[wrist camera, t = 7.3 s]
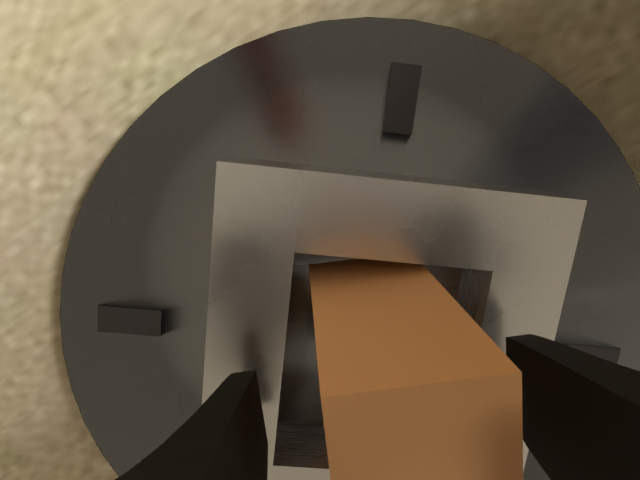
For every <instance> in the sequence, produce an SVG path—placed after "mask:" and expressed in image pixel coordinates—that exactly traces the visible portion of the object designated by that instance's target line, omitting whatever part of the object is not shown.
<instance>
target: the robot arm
mask: <svg viewBox="0 0 640 480" xmlns="http://www.w3.org/2000/svg"><path fill="white" fill-rule="evenodd" d="M506 356H507V357H508V358H509V359H510V360H511V361H512V362H513V363H514V364H515V365H516V366H517V367H518V369H519V370H520V371H521V372H522V422H523V441H524V442H525V444H526V446H527V447H528V449H529V450H530V452H531V453H532V455H533V456H534V457H535V459H536V460H537V462H538V463H539V464H540V466H541V467H542V469H543V470H544V471H545V473H546V474H547V475H548V477H549V478H550V480H640V371H637V370H634V369H631V368H628V367H625V366H622V365H619V364H616V363H613V362H611V361H608V360H605V359H602V358H600V357H597V356H594V355H591V354H589V353H586V352H583V351H580V350H578V349H575V348H572V347H570V346H567V345H564V344H561V343H559V342H556V341H553V340H550V339H547V338H544V337H541V336H537V335H533V334H526V335H518V336H510V337H506ZM267 474H268V440H267V434H266V428H265V422H264V416H263V410H262V403H261V397H260V391H259V385H258V379H257V373H256V370H253V371H245V372H237V373H231V374H230V375H229V376H228V377H227V378H226V379H225V380H224V381H223V382H222V383H221V385H220V386H219V387H218V388H217V389H216V390H215V391H214V392H213V393H212V395H211V396H210V397H209V398H208V399H207V400H206V401H205V402H204V403H203V404H202V405H201V406H200V407H199V409H198V410H197V411H196V412H195V413H194V414H193V415H192V416H191V417H190V418H189V419H188V420H187V421H186V422H185V423H184V424H183V425H181V426H180V427H179V428H178V429H177V430H176V431H175V432H174V433H173V434H172V435H171V436H170V437H169V438H168V439H167V440H166V441H165V442H163V443H162V444H161V445H160V446H159V447H158V448H156V449H155V450H154V451H153V452H152V453H150V454H149V455H148V456H147V457H145V458H144V459H143V460H142V461H140V462H139V463H138V464H136V465H135V466H134V467H133V468H131V469H130V470H128V471H127V472H126V473H124V474H123V475H121V476H120V477H118V478H117V479H115V480H267Z"/></svg>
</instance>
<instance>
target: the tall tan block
mask: <svg viewBox="0 0 640 480" xmlns="http://www.w3.org/2000/svg"><path fill="white" fill-rule="evenodd" d="M309 274H310V285H311V296H312V307H313V319H314V330H315V341H316V352H317V363H318V374H319V385H320V397H321V405H322V413H323V422H324V430H325V438H326V446H327V455H328V463H329V471H330V479H331V480H523V422H522V372H521V371H520V370H519V369H518V367H517V366H516V365H515V364H514V363H513V362H512V361H511V360H510V359H509V358H508V357H507V356H506V354H505V353H504V352H503V351H502V350H501V349H500V348H499V347H498V346H497V345H496V344H495V343H494V341H493V340H492V339H491V338H490V337H489V336H488V335H487V334H486V333H485V332H484V331H483V330H482V328H481V327H480V326H479V325H478V324H477V323H476V322H475V321H474V320H473V319H472V318H471V316H470V315H469V314H468V313H467V312H466V311H465V310H464V309H463V308H462V307H461V306H460V305H459V303H458V302H457V301H456V300H455V299H454V298H453V297H452V296H451V295H450V294H449V293H448V292H447V290H446V289H445V288H444V287H443V286H442V285H441V284H440V283H439V282H438V281H437V280H436V279H435V277H434V276H433V275H432V274H431V273H430V272H429V271H428V270H427V269H426V268H425V267H424V265H423V264H412V263H401V262H391V261H380V260H369V259H351V260H342V261H334V262H325V263H317V264H309Z"/></svg>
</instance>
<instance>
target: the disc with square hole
mask: <svg viewBox="0 0 640 480" xmlns="http://www.w3.org/2000/svg"><path fill="white" fill-rule="evenodd" d="M351 259H369V260H380V261H391V262H401V263H412V264H423V265H424V267H425V268H426V269H427V270H428V271H429V272H430V273H431V274H432V275H433V276H434V277H435V279H436V280H437V281H438V282H439V283H440V284H441V285H442V286H443V287H444V288H445V289H446V290H447V292H448V293H449V294H450V295H451V296H452V297H453V298H454V299H455V300H456V301H457V302H458V303H459V305H460V306H461V307H462V308H463V309H464V310H465V311H466V312H467V313H468V314H469V315H470V316H471V318H472V319H473V320H474V321H475V322H476V323H477V324H478V325H479V326H480V327H481V328H482V330H483V331H484V332H485V333H486V334H487V335H488V336H489V337H490V338H491V339H492V340H493V341H494V343H495V344H496V345H497V346H498V347H499V348H500V349H501V350H502V351H503V352H504V353H505V354H506V337H510V336H518V335H526V334H533V335H537V336H541V337H544V338H547V339H550V340H553V341H556V342H559V343H561V344H564V345H567V346H570V347H572V348H575V349H578V350H580V351H583V352H586V353H589V354H591V355H594V356H597V357H600V358H602V359H605V360H608V361H611V362H613V363H616V364H619V365H622V366H625V367H628V368H631V369H634V370H637V371H640V188H639V185H638V183H637V181H636V179H635V177H634V175H633V173H632V171H631V169H630V168H629V166H628V164H627V162H626V160H625V158H624V156H623V154H622V152H621V151H620V149H619V147H618V146H617V145H616V143H615V142H614V141H613V139H612V138H611V136H610V135H609V134H608V132H607V131H606V130H605V128H604V127H603V126H602V124H601V123H600V121H599V120H598V119H597V117H596V116H595V115H594V114H593V113H592V112H591V111H590V110H589V109H588V108H587V107H586V106H585V105H584V104H583V103H582V102H581V101H580V100H579V99H578V98H577V97H576V96H575V95H574V94H573V93H572V92H571V91H570V90H569V89H568V88H567V87H565V86H564V85H563V84H561V83H560V82H559V81H557V80H556V79H555V78H553V77H552V76H551V75H549V74H548V73H546V72H545V71H544V70H542V69H541V68H540V67H538V66H537V65H536V64H534V63H533V62H531V61H529V60H527V59H525V58H523V57H521V56H519V55H518V54H516V53H514V52H512V51H510V50H508V49H506V48H505V47H503V46H501V45H499V44H497V43H494V42H492V41H489V40H486V39H483V38H481V37H478V36H475V35H472V34H470V33H467V32H464V31H461V30H458V29H455V28H450V27H445V26H441V25H436V24H431V23H426V22H421V21H416V20H407V19H390V18H373V17H364V18H352V19H340V20H328V21H320V22H316V23H312V24H307V25H303V26H298V27H294V28H290V29H285V30H281V31H277V32H275V33H272V34H269V35H267V36H264V37H262V38H259V39H256V40H254V41H251V42H248V43H246V44H243V45H241V46H238V47H235V48H234V49H232V50H230V51H228V52H226V53H225V54H223V55H221V56H219V57H217V58H216V59H214V60H212V61H210V62H208V63H207V64H205V65H203V66H201V67H199V68H198V69H196V70H195V71H193V72H192V73H191V74H189V75H188V76H187V77H185V78H184V79H183V80H181V81H180V82H179V83H177V84H176V85H175V86H173V87H172V88H171V89H169V90H168V91H167V92H165V93H164V94H163V95H161V96H160V97H159V98H158V99H157V100H156V101H155V102H154V103H153V104H152V105H151V106H150V107H149V108H148V109H147V110H146V111H145V112H144V113H143V114H142V115H141V116H140V117H139V118H138V119H137V120H136V121H135V122H134V123H133V124H132V125H131V126H130V127H129V129H128V130H127V132H126V133H125V134H124V136H123V137H122V138H121V140H120V141H119V142H118V144H117V145H116V146H115V148H114V149H113V150H112V152H111V153H110V154H109V156H108V157H107V158H106V160H105V161H104V163H103V165H102V166H101V168H100V170H99V172H98V174H97V176H96V178H95V179H94V181H93V183H92V185H91V187H90V189H89V190H88V192H87V194H86V196H85V198H84V200H83V203H82V206H81V209H80V211H79V214H78V217H77V219H76V222H75V225H74V228H73V230H72V233H71V236H70V240H69V245H68V250H67V254H66V259H65V264H64V269H63V274H62V285H61V302H60V323H61V335H62V347H63V354H64V359H65V363H66V367H67V372H68V376H69V380H70V385H71V389H72V391H73V394H74V396H75V399H76V402H77V404H78V407H79V409H80V412H81V415H82V417H83V420H84V422H85V424H86V426H87V428H88V429H89V431H90V433H91V435H92V437H93V438H94V440H95V442H96V444H97V446H98V447H99V449H100V451H101V453H102V454H103V456H104V457H105V458H106V460H107V461H108V462H109V464H110V465H111V466H112V468H113V469H114V470H115V472H116V473H117V474H118V476H119V477H120V476H121V475H123V474H124V473H126V472H127V471H128V470H130V469H131V468H133V467H134V466H135V465H136V464H138V463H139V462H140V461H142V460H143V459H144V458H145V457H147V456H148V455H149V454H150V453H152V452H153V451H154V450H155V449H156V448H158V447H159V446H160V445H161V444H162V443H163V442H165V441H166V440H167V439H168V438H169V437H170V436H171V435H172V434H173V433H174V432H175V431H176V430H177V429H178V428H179V427H180V426H181V425H183V424H184V423H185V422H186V421H187V420H188V419H189V418H190V417H191V416H192V415H193V414H194V413H195V412H196V411H197V410H198V409H199V407H200V406H201V405H202V404H203V403H204V402H205V401H206V400H207V399H208V398H209V397H210V396H211V395H212V393H213V392H214V391H215V390H216V389H217V388H218V387H219V386H220V385H221V383H222V382H223V381H224V380H225V379H226V378H227V377H228V376H229V375H230V374H231V373H237V372H245V371H253V370H256V373H257V379H258V385H259V391H260V397H261V403H262V410H263V416H264V422H265V428H266V434H267V440H268V474H267V480H331V479H330V471H329V463H328V455H327V446H326V438H325V430H324V422H323V413H322V405H321V397H320V385H319V374H318V363H317V352H316V341H315V330H314V319H313V307H312V296H311V285H310V274H309V264H317V263H325V262H334V261H342V260H351ZM523 480H550V478H549V477H548V475H547V474H546V473H545V471H544V470H543V469H542V467H541V466H540V464H539V463H538V462H537V460H536V459H535V457H534V456H533V455H532V453H531V452H530V450H529V449H528V447H527V446H526V444H525V442H524V441H523Z"/></svg>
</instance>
